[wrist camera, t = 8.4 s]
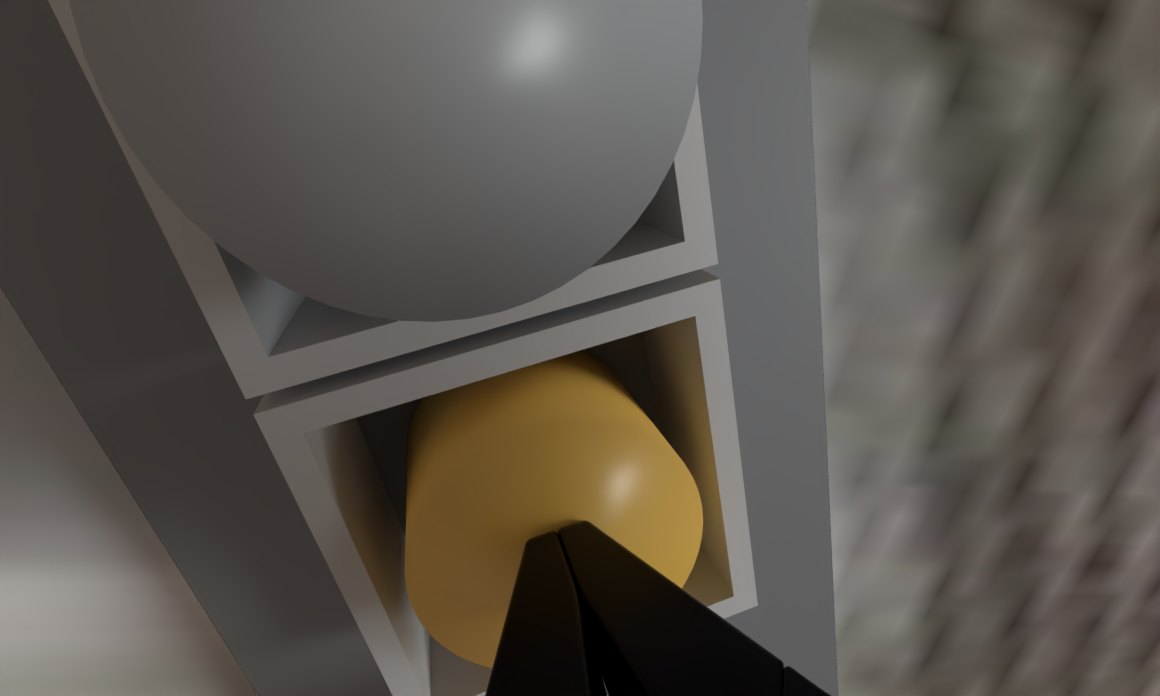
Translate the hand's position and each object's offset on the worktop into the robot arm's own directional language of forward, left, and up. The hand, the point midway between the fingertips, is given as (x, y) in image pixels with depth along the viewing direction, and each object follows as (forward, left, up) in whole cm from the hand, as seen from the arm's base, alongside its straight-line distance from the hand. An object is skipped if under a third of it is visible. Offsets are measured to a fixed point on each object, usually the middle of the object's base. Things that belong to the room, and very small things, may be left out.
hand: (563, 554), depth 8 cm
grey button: (+6, 0, -1) cm, 6 cm away
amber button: (0, 0, -3) cm, 3 cm away
